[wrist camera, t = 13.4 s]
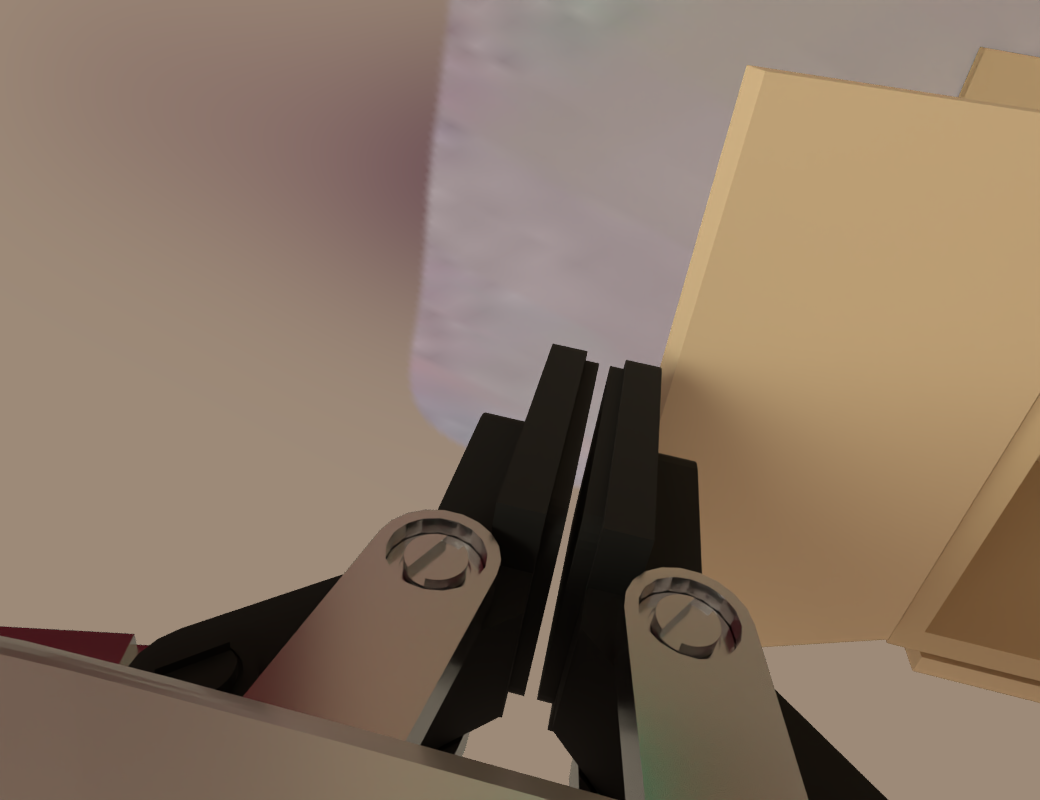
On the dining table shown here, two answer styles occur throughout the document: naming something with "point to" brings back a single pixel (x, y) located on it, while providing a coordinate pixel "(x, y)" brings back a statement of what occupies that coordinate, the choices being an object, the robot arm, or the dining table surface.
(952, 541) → the carton
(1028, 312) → the long flap
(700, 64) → the dining table surface
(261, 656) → the robot arm
